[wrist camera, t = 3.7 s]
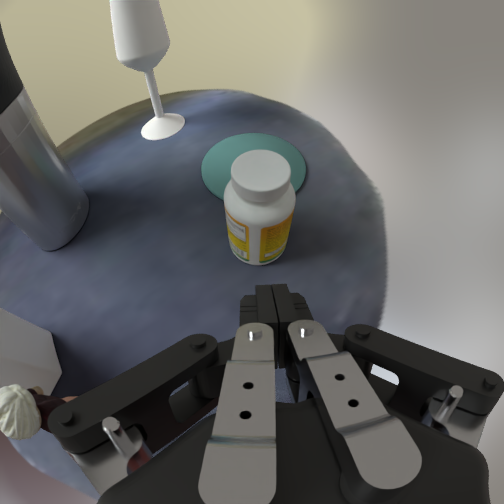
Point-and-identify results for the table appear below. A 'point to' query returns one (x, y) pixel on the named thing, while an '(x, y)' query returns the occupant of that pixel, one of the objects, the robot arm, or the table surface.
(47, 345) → the jar
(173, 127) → the champagne flute
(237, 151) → the mat
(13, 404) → the grandmother figurine
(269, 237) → the supplement bottle
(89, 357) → the table surface
